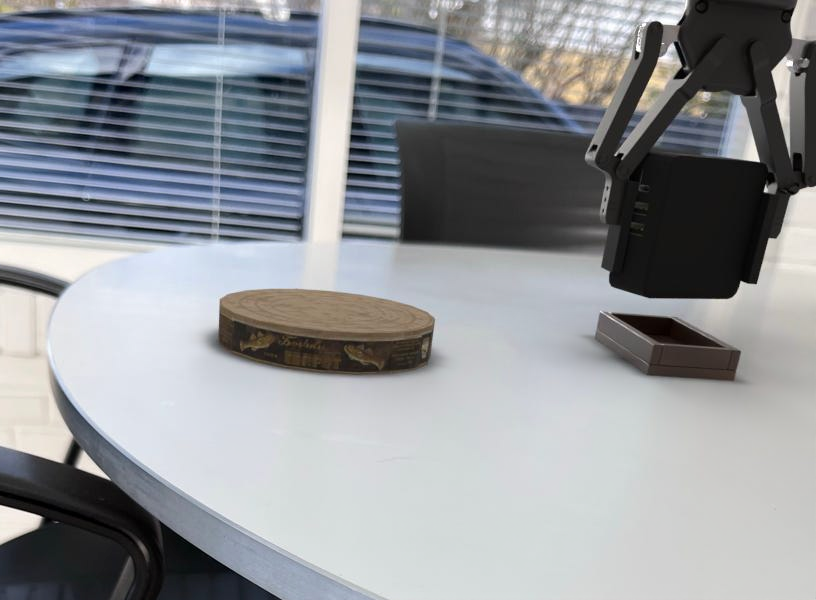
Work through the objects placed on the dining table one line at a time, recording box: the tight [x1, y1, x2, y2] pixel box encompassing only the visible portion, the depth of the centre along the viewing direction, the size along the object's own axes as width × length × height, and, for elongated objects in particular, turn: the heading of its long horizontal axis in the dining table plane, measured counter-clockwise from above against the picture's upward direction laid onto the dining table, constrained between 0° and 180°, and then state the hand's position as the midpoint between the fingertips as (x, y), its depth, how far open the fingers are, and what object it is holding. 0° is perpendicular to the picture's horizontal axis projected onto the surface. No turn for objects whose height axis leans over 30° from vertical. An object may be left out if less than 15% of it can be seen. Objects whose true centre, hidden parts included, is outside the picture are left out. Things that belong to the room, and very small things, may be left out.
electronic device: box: [608, 150, 768, 300], centre depth 82 cm, size 4×10×10 cm, turn 116°
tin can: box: [217, 288, 436, 376], centre depth 78 cm, size 16×16×3 cm
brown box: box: [594, 310, 742, 382], centre depth 86 cm, size 7×13×2 cm, turn 5°
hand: (678, 275), depth 83 cm, fingers closed on electronic device, 10 cm apart
